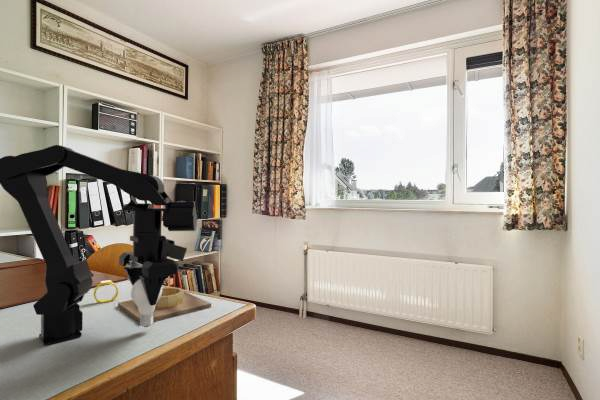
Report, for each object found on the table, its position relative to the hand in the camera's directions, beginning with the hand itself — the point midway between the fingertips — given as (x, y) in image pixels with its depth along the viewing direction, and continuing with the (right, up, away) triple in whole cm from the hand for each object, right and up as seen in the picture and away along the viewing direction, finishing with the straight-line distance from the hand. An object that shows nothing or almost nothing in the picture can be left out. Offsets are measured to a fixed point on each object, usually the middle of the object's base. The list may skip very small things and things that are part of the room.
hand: (146, 301), depth 73 cm
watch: (-21, -7, +21) cm, 31 cm away
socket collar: (-3, -7, +17) cm, 18 cm away
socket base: (-3, -7, +17) cm, 18 cm away
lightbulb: (0, -6, 0) cm, 6 cm away
